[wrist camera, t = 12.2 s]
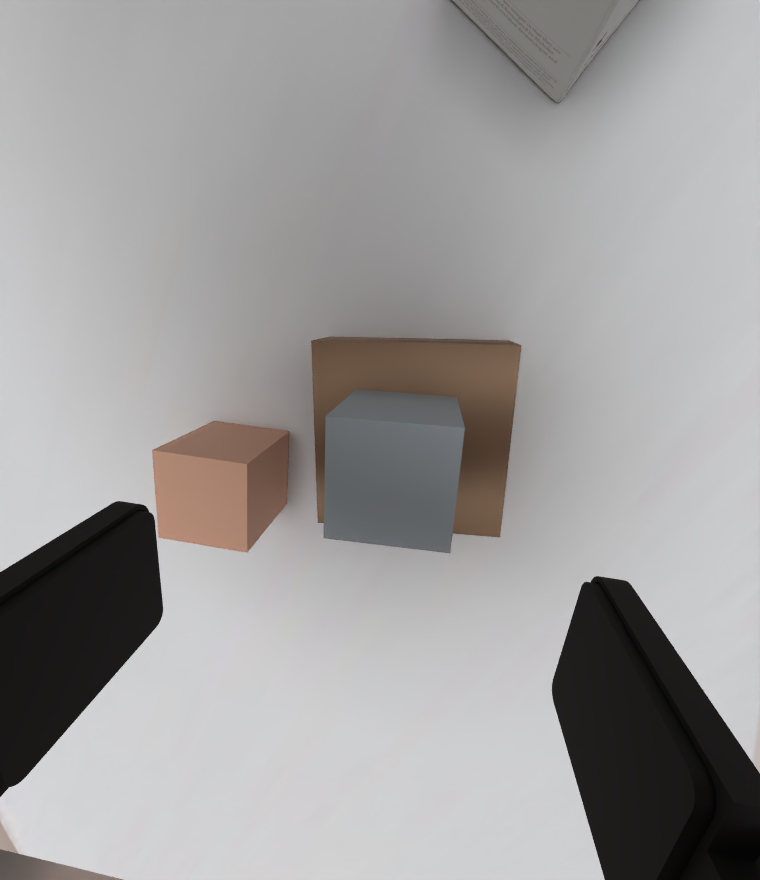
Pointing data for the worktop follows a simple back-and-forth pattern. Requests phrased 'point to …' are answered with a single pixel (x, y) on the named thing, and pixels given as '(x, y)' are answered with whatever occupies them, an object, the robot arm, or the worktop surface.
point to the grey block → (393, 469)
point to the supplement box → (549, 34)
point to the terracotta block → (221, 484)
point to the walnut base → (432, 373)
